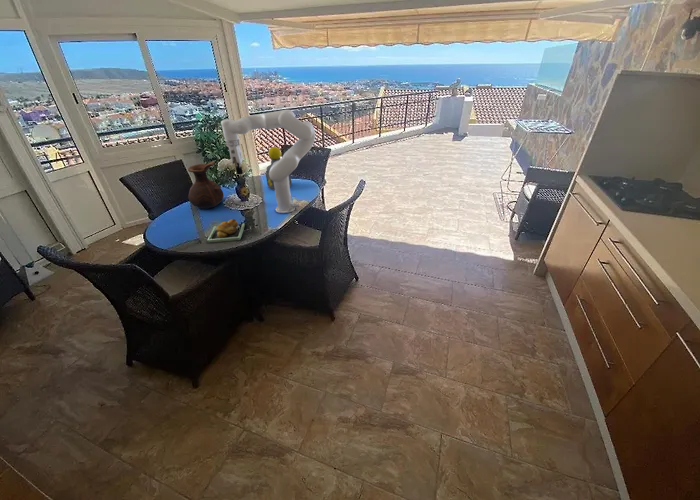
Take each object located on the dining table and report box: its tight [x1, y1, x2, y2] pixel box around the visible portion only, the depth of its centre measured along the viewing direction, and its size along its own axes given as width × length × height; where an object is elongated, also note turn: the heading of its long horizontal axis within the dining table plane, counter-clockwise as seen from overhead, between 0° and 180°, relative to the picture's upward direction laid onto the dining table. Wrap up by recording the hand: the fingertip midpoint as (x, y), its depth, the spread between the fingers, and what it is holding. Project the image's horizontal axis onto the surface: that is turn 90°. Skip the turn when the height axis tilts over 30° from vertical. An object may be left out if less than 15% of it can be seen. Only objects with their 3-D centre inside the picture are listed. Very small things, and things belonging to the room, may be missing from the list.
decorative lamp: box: [265, 146, 292, 191], centre depth 221 cm, size 19×19×30 cm
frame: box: [206, 222, 246, 244], centre depth 168 cm, size 17×17×2 cm
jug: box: [187, 160, 225, 210], centre depth 194 cm, size 22×22×30 cm
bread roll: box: [216, 218, 239, 238], centre depth 166 cm, size 13×10×8 cm
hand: (240, 173), depth 179 cm, fingers closed
